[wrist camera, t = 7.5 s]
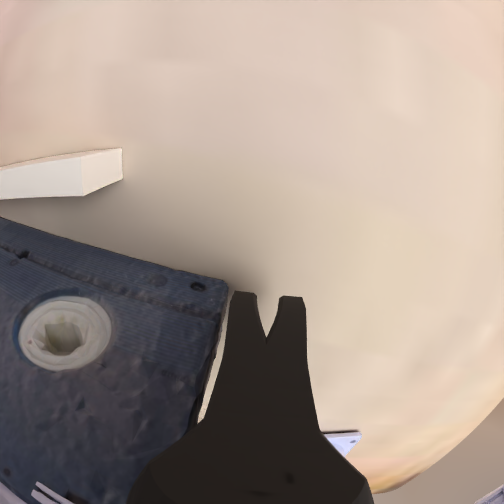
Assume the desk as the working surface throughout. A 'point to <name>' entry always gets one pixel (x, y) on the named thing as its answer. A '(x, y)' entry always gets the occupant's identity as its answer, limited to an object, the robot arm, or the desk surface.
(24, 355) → the vhs cassette tape
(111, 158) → the rail dock
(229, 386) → the robot arm
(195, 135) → the desk surface
